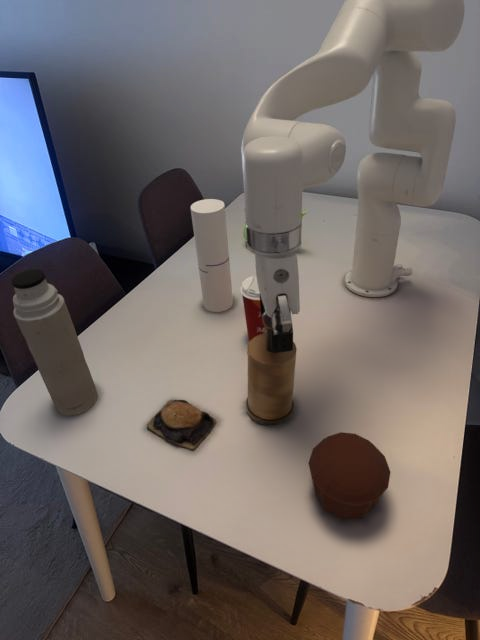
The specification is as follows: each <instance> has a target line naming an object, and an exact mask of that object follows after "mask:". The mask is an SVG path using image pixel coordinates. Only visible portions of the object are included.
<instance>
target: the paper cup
mask: <svg viewBox="0 0 480 640" xmlns="http://www.w3.org/2000/svg"><path fill="white" fill-rule="evenodd" d="M239 292H240V294H241V295H242V296H241V297H242V302H243V303H242V304H243V309H244V318H245V323H246V329H247V331H246V332H247V338H248V340H249V342H250V341H251V340H252V339H253V338H254V337H256V336H258V335H261V334H265V333H266V329H267V327H266V326H265V325H264V324H263V321H262V317H263V315H261V312H260V292H259V288H258V283H257V276H256V274H254V275H251V276H248V277H246V278H245V279H243V281H242V283H241V285H240V288H239Z"/></svg>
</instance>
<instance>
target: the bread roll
mask: <svg viewBox="0 0 480 640" xmlns="http://www.w3.org/2000/svg"><path fill="white" fill-rule="evenodd" d="M216 424H217V420H216V418H214V417H213V416H211V415H210V414H209V413H208V412H206V411H202V410H200V409H199V408H198V407H196V406H195V405H193V404H191V403H190V402H188V401H187V400H185V399H170V400H168V401H167V402H166V404H164V405H163V406H162V408H160V409H159V411H158V412H157V413H156V414H155V415H154V416H153V417H152V418H151V419H150V420H149V422H148V423H147V424H146V428H147V430H150V432H152V433H154V434H155V435H157V436H158V437H161V438H162V439H164V440H166V441H168V442H170V443H173V444H175V445H176V446H179V447H181V448H185V449H187V450H189V451H194V450H196V449H197V448H198V447H199V446H200V445H201V443H202V442H203V441H204V440H205V439H206V436H207V435H209V434H210V433H211V432H212V431H211V430H212V429H213V428H214V426H215V425H216Z"/></svg>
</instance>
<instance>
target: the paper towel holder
mask: <svg viewBox="0 0 480 640" xmlns="http://www.w3.org/2000/svg"><path fill="white" fill-rule="evenodd" d="M276 312H279V309H277V308H276V309H275V311H274V313H276ZM262 321H263V324H264V325H265V326H266V327H267V329H266V333H265V334H261V335H258V336H256V337H254V338H253V339H252V340H251V341H249V342H248V344H247V397H246V399H245V400H246V401H245V410H246V412H247V414H248V416H249V417H250V418H251V419H252V420H253V421H254V422H256V423H260V424H262V425H265V426H276V425H280V424H282V423H286V421H288V420H289V419H290V418H291V416H292V415H293V413H294V407H295V403H294V399H293V398H294V384H295V375H296V374H295V373H296V362H297V351H298V350H297V345H296V343H295V342H294V341H293V350H292V351H287V352H280V353H273V352H272V349H271V331H273V327H272V319H271V317H269V316H268V315H267V314H266V311H265V312H264V314H263V317H262ZM276 322H277V326H278V325H280V324H281V317H276Z"/></svg>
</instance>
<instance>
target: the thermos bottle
mask: <svg viewBox="0 0 480 640" xmlns="http://www.w3.org/2000/svg"><path fill="white" fill-rule="evenodd" d="M11 284H12V286H13V287H14V288H13V289H14V292H15V294H14V295H13V296H12V302H13V307H14V309H13V316H14V319H15V320H16V321H15V322H16V323H17V325H18V327H19V330H20V332H21V334H22V336H23V338H24V341H25V344H26V345H27V347H28V350H29V351H30V354H31V356H32V359H33V361H34V363H35V365H36V367H37V369H38V373H39V374H40V377H41V378H42V381H43V383H44V385H45V387H46V390H47V392H48V394H49V396H50V398H51V401H52V403H53V405H54V408H55V409H56V411H57V412H58V413H59V414H61V415H64V416H76V415H80V414H82V413H85V412H86V411H88V410H89V409H91V408H92V407H93V406H94V405H95V403H96V402H97V400H98V394H99V393H98V390H97V387H96V385H95V381H94V379H93V376H92V372H91V371H90V369H89V365H88V363H87V361H86V358H85V355H84V351H83V348H82V345H81V342H80V340H79V337H78V334H77V331H76V329H75V325H74V323H73V321H72V318H71V315H70V312H69V309H68V307H67V304H66V300H65V298H64V297H63V295H61V294H59V293H58V289H57V288H56V287H55V286H54V285H53V284H50V283H48V282H47V279H46V273H45V272H44V270H42V269H40V268H29V269H25V270H22V271H19V272H18V273H16V274H15V275H14V276H13V277H12V278H11Z"/></svg>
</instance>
